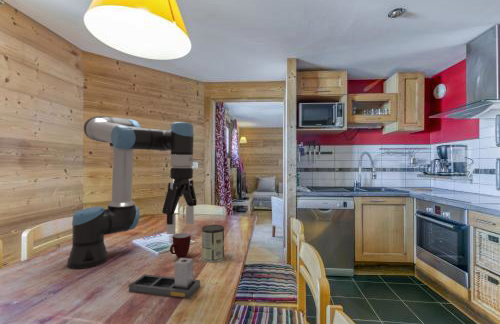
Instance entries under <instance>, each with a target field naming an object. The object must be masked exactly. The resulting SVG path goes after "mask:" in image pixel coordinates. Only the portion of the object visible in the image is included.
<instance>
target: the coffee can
mask: <svg viewBox="0 0 500 324" xmlns="http://www.w3.org/2000/svg"><path fill="white" fill-rule="evenodd" d="M224 259H225V226H224V225H221V224H209V225H204V226H202V227H201V260H202V261H203V262H207V263H216V262H220V261H223V260H224Z"/></svg>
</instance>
